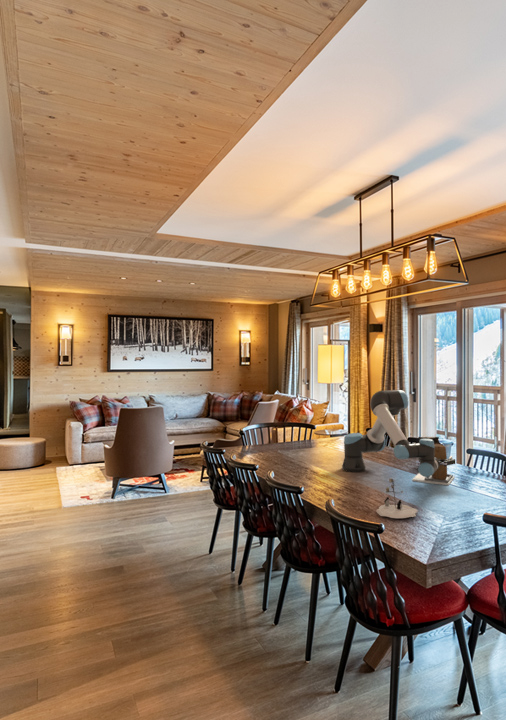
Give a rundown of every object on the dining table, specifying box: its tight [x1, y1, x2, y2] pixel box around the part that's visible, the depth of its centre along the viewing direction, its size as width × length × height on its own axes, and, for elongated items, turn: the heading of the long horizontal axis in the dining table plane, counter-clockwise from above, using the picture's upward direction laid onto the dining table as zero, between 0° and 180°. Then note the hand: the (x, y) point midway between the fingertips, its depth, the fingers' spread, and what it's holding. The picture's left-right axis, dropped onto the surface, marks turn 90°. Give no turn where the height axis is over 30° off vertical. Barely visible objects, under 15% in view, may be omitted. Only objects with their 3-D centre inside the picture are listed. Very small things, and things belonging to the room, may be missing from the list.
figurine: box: [376, 478, 418, 519], centre depth 208 cm, size 20×18×16 cm
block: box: [432, 444, 448, 480], centre depth 262 cm, size 11×8×20 cm
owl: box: [417, 436, 441, 463], centre depth 296 cm, size 13×13×20 cm
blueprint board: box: [411, 472, 455, 486], centre depth 263 cm, size 20×18×2 cm
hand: (439, 457), depth 263 cm, fingers open, 13 cm apart
